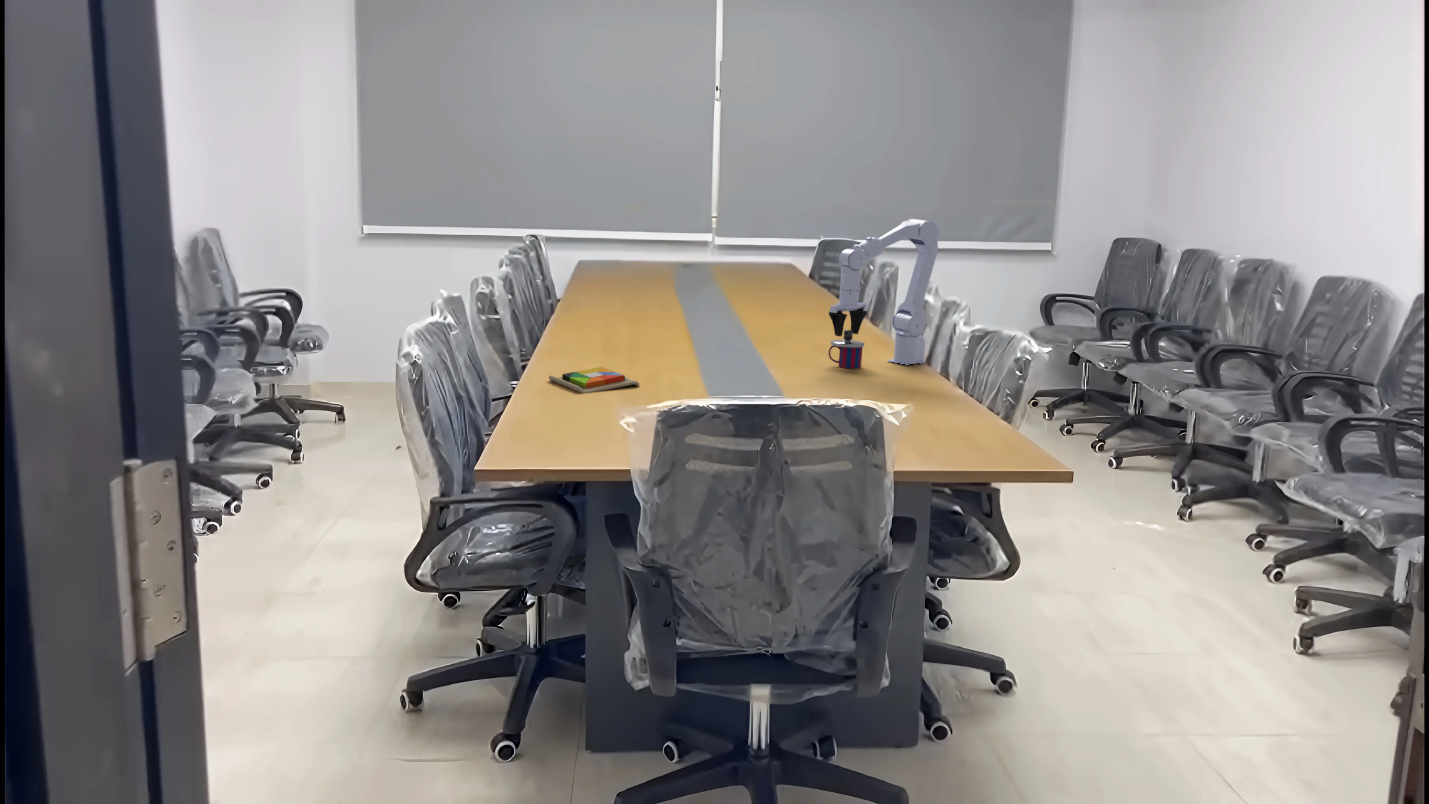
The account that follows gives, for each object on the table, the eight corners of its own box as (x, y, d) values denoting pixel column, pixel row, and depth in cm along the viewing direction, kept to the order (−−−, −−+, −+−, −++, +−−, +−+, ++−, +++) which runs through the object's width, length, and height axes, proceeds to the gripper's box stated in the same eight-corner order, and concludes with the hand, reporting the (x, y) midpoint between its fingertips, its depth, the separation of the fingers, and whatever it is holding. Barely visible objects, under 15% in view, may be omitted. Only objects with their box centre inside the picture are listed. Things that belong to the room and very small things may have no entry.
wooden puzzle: (546, 382, 291) (546, 369, 291) (607, 375, 303) (607, 363, 302) (579, 395, 278) (579, 382, 277) (641, 388, 289) (641, 375, 288)
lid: (845, 340, 332) (846, 326, 332) (871, 345, 326) (872, 331, 325) (823, 343, 326) (824, 329, 325) (850, 348, 319) (851, 334, 318)
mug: (861, 369, 324) (863, 347, 323) (827, 367, 325) (829, 345, 323) (860, 365, 331) (862, 343, 329) (827, 363, 331) (829, 341, 330)
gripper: (854, 286, 330) (851, 330, 333) (823, 289, 320) (820, 334, 323) (873, 289, 325) (869, 334, 328) (841, 292, 315) (838, 338, 319)
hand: (846, 334), depth 326 cm, fingers open, 7 cm apart
